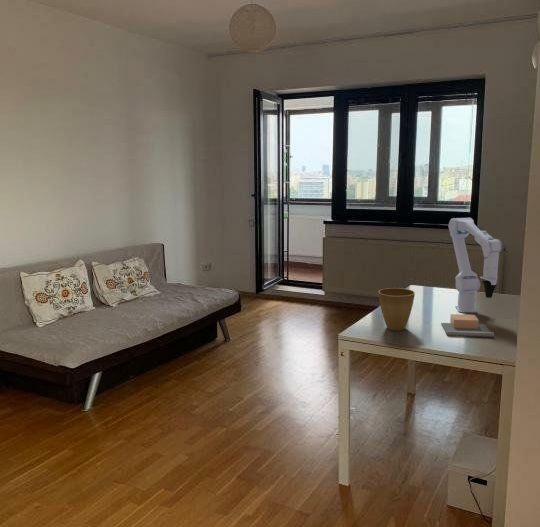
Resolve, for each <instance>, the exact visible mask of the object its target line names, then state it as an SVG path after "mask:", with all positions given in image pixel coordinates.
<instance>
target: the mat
mask: <svg viewBox="0 0 540 527" xmlns="http://www.w3.org/2000/svg"><path fill="white" fill-rule="evenodd" d="M440 325H441V327H442V329H443V331H444V332H445V335H446V336H447V337H467V338H468V337H469V338H470V337H471V338H492V339H493V338H495V332H494V331H493V332H491V330H490V329H489V328H488V327H487V325H486V324H485V323H479V326H478V329H475V328H453V326H452V324H451V323H450V322H441V323H440Z"/></svg>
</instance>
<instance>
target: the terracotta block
mask: <svg viewBox="0 0 540 527" xmlns="http://www.w3.org/2000/svg"><path fill="white" fill-rule="evenodd" d="M449 321H450V322H449V323H451V324H452V326H453V328H475V329H478V326H479V324H480V323H479V322H480V320H479V319H478V317H477V316H476V315H475V314H459V313H457V314H455V313H450V320H449Z"/></svg>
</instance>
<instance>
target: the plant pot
mask: <svg viewBox="0 0 540 527" xmlns="http://www.w3.org/2000/svg"><path fill="white" fill-rule="evenodd" d="M415 294H416V293H415V291H414V290H412V289H409V288H401V287H391V288H390V287H387V288H383V289H380V290H378V299H379V304H380V309H381V313H382V314H381V315H382V317H383V320H384V323H385V326H386V328H387V329H388V330H390V331H395V332H396V331H403V330H405V329H406V327H407V325H408V322H409V319H410V316H411V312H412V308H413V305H414V300H415Z"/></svg>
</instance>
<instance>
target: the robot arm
mask: <svg viewBox="0 0 540 527" xmlns="http://www.w3.org/2000/svg"><path fill="white" fill-rule="evenodd" d="M448 230H449V235H450V237H451V238H452V244H453V249H454V253H455V258H456V262H457V266H458V267H457V268H458V274H457V275H456V276H455V277H454V279H455V283H454V284H455V288H456V290H457V293H458V292H459V293H458V296H457V305H455V308H456V309H457V311H458V312H459V313H475V314H476V313H478V312H477V310H476V293H478V291H479V290H480V288H481V281H480V279H482V284H483V287H484V294H485V298H488V299H490V298H492V297H493V294H494V292H495V289H496V287H497V285H498V267H499V258H500V257H499V256H500V253H501V252H502V250H503V243H502V241H501V239H499V238H494V237H493V236H491V235H490V234H489V233H488V232H487V231H486V230H481V229H480V228H479V227H477V225H476V224H475V221H474V219H473V218H472V217H470V216H469V217H456V218H455V217H453V218H451V219H450V220H449V222H448ZM469 234H471V235H472V237H473V236H474V241H475V242H476V243H478V245H480V246H481V249H482V254H483V257H484V259H483V272H482V273H483V274H482V275H480V276H478V274H477V273H476V272H474V271H473V270H472V266H471V264H470V260H469V254H468V250H467V244H466V240H465V238H467V237H468V236H469ZM478 277H479V278H478Z"/></svg>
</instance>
